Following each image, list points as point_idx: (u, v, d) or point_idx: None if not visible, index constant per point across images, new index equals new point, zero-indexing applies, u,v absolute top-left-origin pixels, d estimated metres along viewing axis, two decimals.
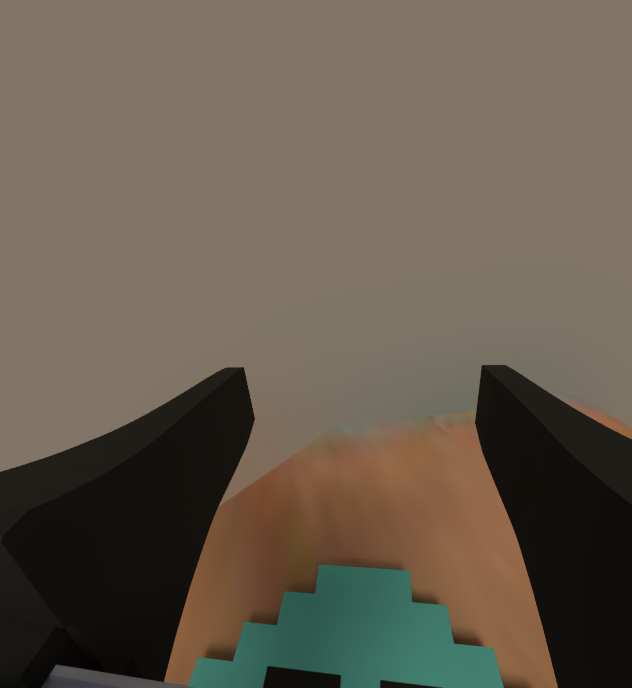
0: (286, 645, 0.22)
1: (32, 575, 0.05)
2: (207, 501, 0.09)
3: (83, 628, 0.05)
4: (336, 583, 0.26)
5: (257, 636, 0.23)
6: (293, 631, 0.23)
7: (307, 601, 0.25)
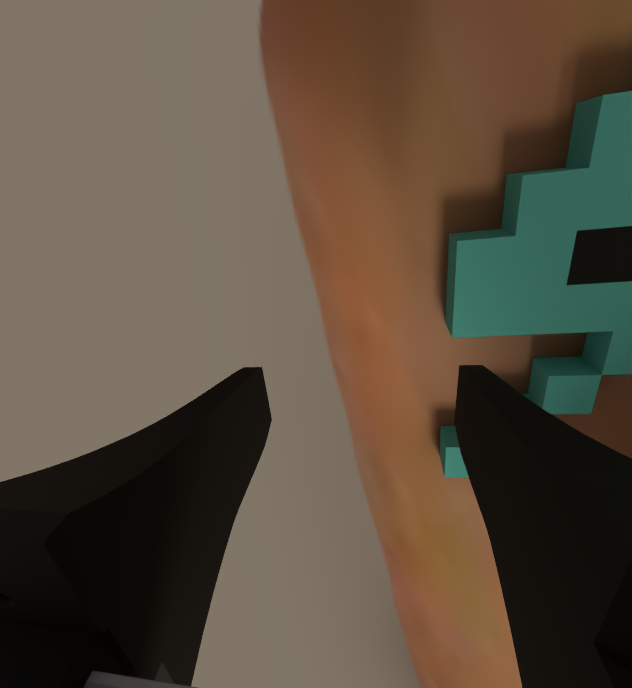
0: (610, 196, 0.13)
1: (72, 580, 0.04)
2: (229, 502, 0.09)
3: (118, 633, 0.05)
4: None
5: (553, 194, 0.14)
6: (624, 170, 0.13)
7: None
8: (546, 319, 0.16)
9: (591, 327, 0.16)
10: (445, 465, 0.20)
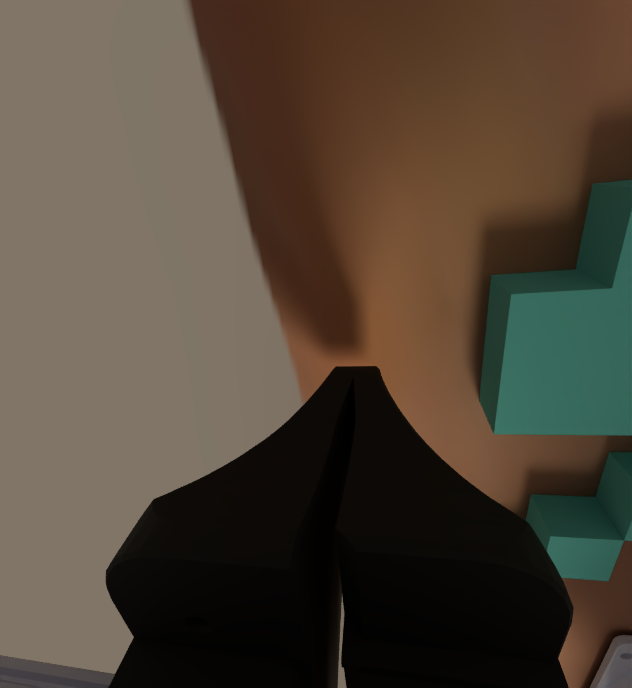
0: None
1: None
2: None
3: (313, 660, 0.05)
4: None
5: None
6: None
7: None
8: None
9: None
10: None
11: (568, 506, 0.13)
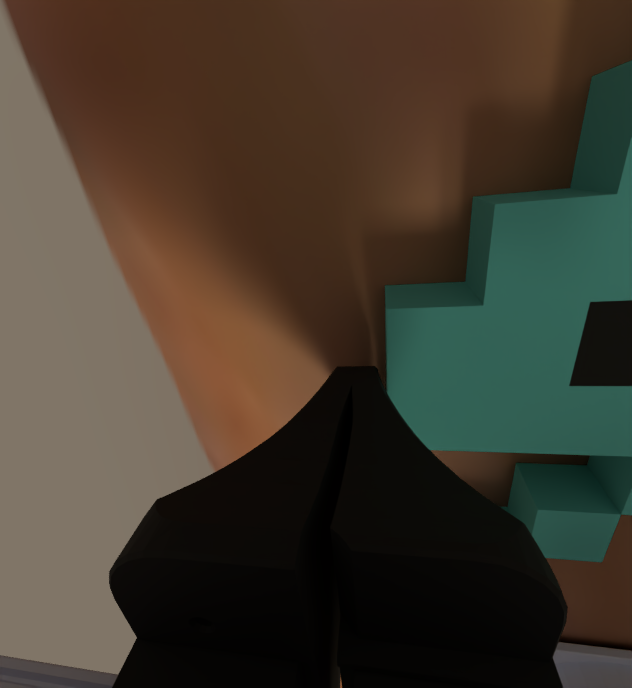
0: None
1: None
2: None
3: (316, 661, 0.05)
4: None
5: (550, 238, 0.07)
6: None
7: None
8: (535, 433, 0.10)
9: (608, 449, 0.10)
10: None
11: None
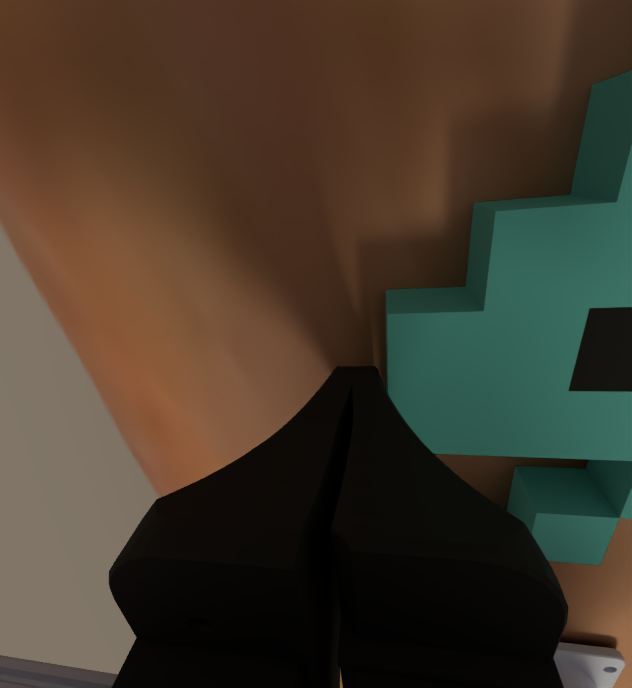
0: None
1: None
2: None
3: (316, 661, 0.05)
4: None
5: (550, 245, 0.08)
6: None
7: None
8: (534, 437, 0.10)
9: (606, 453, 0.10)
10: None
11: None
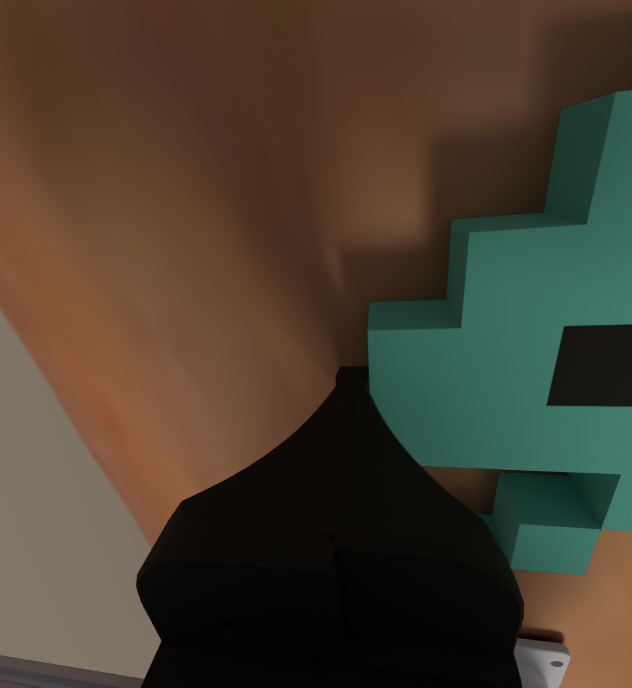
0: (622, 274, 0.07)
1: (332, 609, 0.04)
2: None
3: None
4: None
5: (523, 265, 0.08)
6: None
7: None
8: (515, 450, 0.10)
9: (586, 466, 0.10)
10: None
11: None
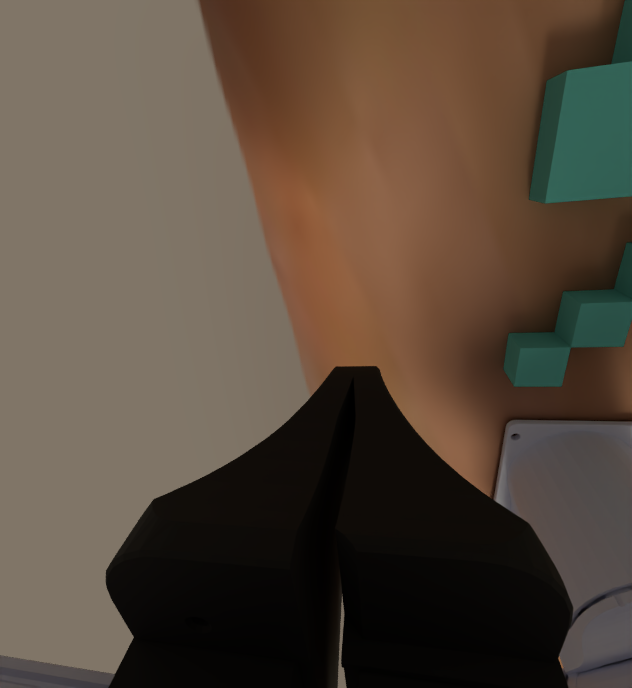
0: None
1: None
2: None
3: (312, 660, 0.05)
4: None
5: None
6: None
7: None
8: None
9: None
10: (516, 372, 0.18)
11: (593, 293, 0.17)
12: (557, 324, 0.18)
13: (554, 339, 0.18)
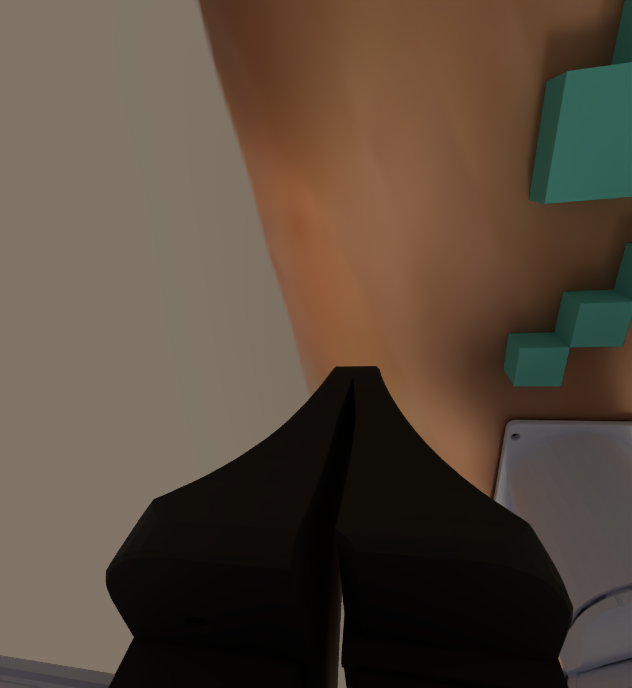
0: None
1: None
2: None
3: (312, 660, 0.05)
4: None
5: None
6: None
7: None
8: None
9: None
10: (516, 371, 0.18)
11: (592, 293, 0.17)
12: (557, 324, 0.18)
13: (553, 339, 0.18)
